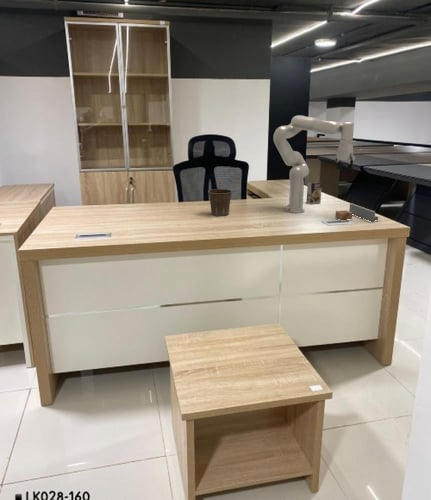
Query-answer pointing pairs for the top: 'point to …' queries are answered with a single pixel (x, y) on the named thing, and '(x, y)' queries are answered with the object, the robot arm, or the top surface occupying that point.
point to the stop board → (363, 212)
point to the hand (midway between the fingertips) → (344, 169)
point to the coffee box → (314, 193)
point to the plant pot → (220, 201)
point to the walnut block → (343, 215)
